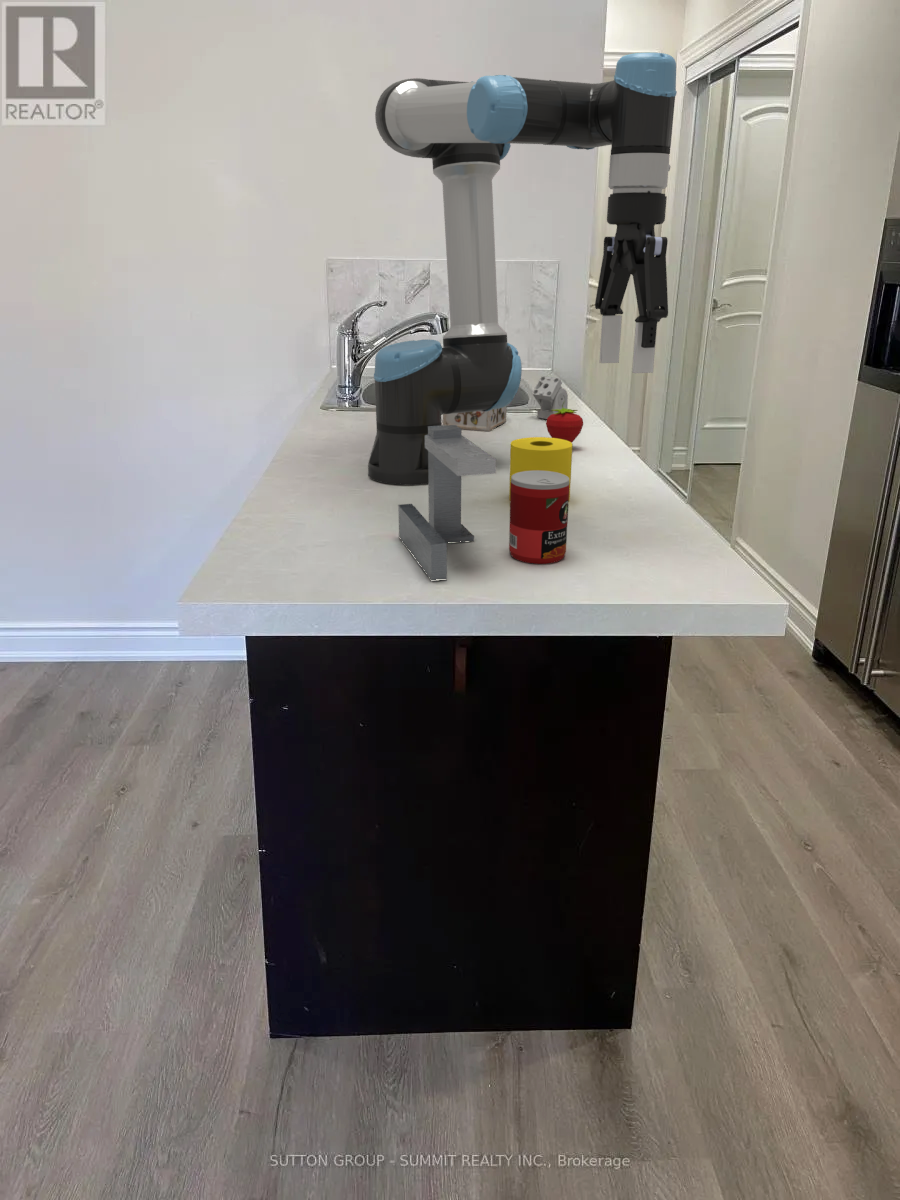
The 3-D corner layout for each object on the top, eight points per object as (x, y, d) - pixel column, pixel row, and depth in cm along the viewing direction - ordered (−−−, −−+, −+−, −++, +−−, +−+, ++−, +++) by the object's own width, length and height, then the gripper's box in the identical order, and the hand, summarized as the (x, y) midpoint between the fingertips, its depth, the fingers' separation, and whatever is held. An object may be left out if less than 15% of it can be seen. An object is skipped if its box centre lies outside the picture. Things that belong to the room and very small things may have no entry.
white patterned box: (441, 428, 205) (441, 346, 199) (460, 419, 215) (461, 340, 208) (490, 432, 201) (492, 348, 194) (508, 422, 211) (510, 343, 204)
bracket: (462, 529, 135) (462, 422, 129) (506, 574, 117) (509, 452, 111) (396, 534, 133) (394, 425, 127) (431, 581, 115) (430, 457, 109)
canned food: (551, 568, 119) (554, 487, 115) (498, 558, 123) (499, 479, 119) (575, 552, 125) (579, 475, 121) (524, 542, 129) (526, 467, 125)
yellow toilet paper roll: (563, 510, 145) (566, 452, 141) (502, 505, 147) (504, 448, 144) (574, 494, 153) (577, 439, 150) (516, 489, 156) (518, 435, 153)
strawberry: (582, 453, 182) (585, 403, 178) (544, 452, 182) (546, 402, 179) (581, 447, 187) (584, 398, 183) (544, 446, 188) (546, 397, 184)
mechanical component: (567, 418, 216) (569, 375, 212) (548, 423, 211) (550, 379, 207) (549, 415, 219) (551, 373, 215) (530, 420, 214) (531, 377, 210)
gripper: (708, 188, 109) (690, 377, 117) (625, 195, 129) (614, 356, 137) (652, 187, 107) (637, 380, 115) (576, 194, 127) (568, 358, 135)
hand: (625, 367), depth 126 cm, fingers open, 10 cm apart
